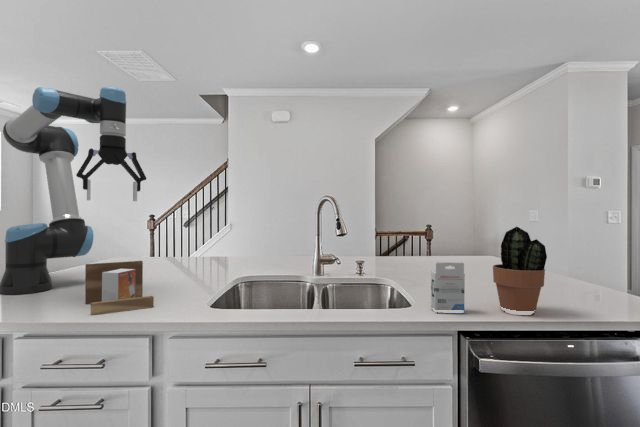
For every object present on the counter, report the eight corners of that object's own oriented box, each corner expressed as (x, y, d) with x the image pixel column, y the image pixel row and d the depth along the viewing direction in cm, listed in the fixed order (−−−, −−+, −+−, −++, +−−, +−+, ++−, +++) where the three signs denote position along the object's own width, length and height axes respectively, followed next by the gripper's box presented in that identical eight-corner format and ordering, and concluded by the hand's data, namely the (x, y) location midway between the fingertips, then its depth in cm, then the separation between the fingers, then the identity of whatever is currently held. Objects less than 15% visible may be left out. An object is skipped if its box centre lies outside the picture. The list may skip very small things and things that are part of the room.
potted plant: (494, 315, 110) (495, 227, 110) (490, 304, 123) (491, 225, 123) (549, 320, 106) (550, 228, 105) (539, 308, 118) (540, 226, 118)
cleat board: (85, 303, 120) (85, 264, 120) (141, 296, 129) (141, 260, 129) (91, 315, 106) (91, 271, 106) (153, 307, 116) (153, 266, 116)
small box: (117, 308, 114) (118, 272, 114) (101, 307, 115) (101, 272, 115) (136, 302, 121) (136, 268, 121) (120, 301, 123) (120, 268, 123)
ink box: (458, 309, 117) (459, 260, 116) (464, 314, 112) (465, 262, 111) (430, 309, 117) (430, 260, 116) (434, 313, 112) (435, 262, 112)
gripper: (68, 129, 118) (68, 199, 118) (155, 138, 133) (155, 201, 133) (67, 133, 124) (66, 200, 124) (150, 141, 139) (150, 201, 139)
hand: (112, 200), depth 128 cm, fingers open, 13 cm apart
